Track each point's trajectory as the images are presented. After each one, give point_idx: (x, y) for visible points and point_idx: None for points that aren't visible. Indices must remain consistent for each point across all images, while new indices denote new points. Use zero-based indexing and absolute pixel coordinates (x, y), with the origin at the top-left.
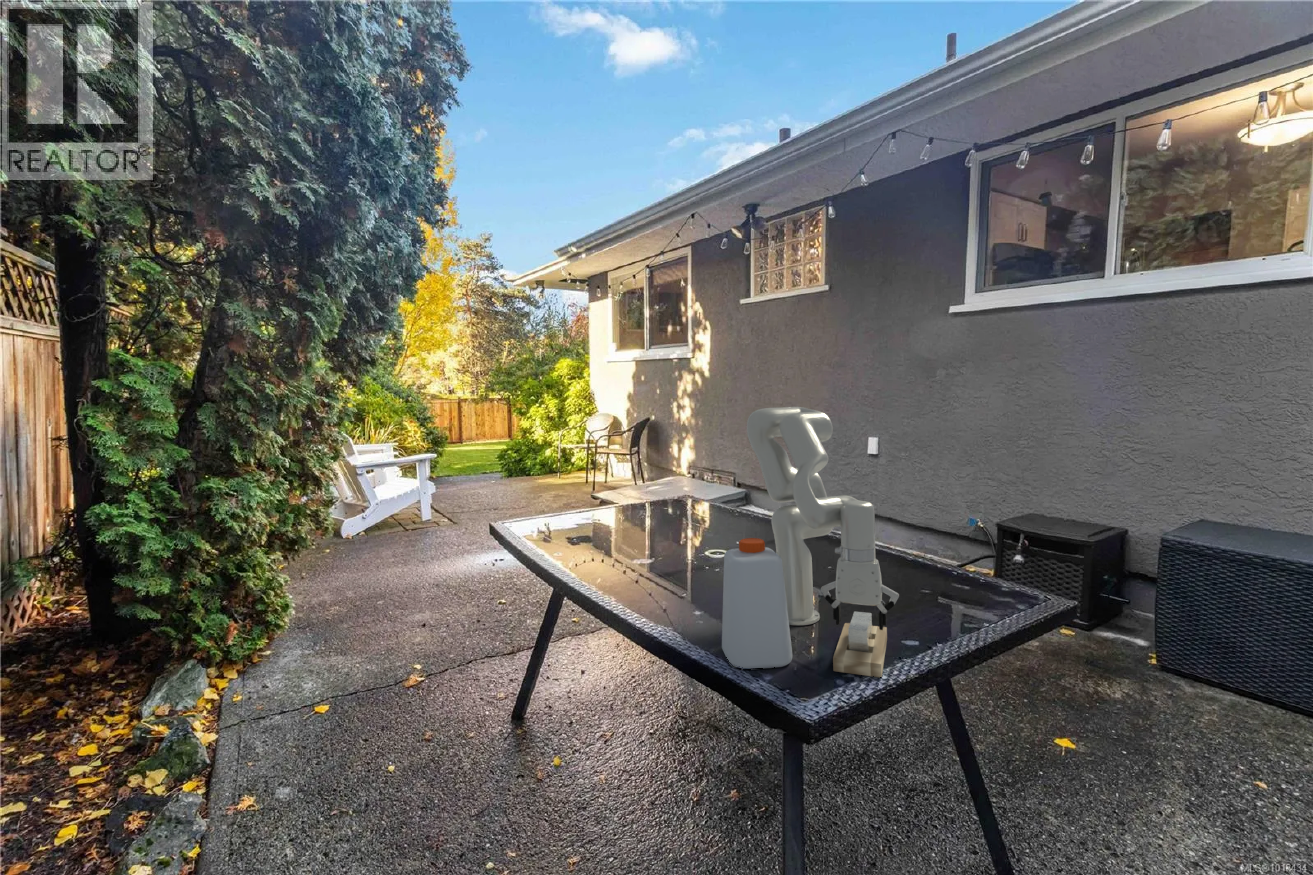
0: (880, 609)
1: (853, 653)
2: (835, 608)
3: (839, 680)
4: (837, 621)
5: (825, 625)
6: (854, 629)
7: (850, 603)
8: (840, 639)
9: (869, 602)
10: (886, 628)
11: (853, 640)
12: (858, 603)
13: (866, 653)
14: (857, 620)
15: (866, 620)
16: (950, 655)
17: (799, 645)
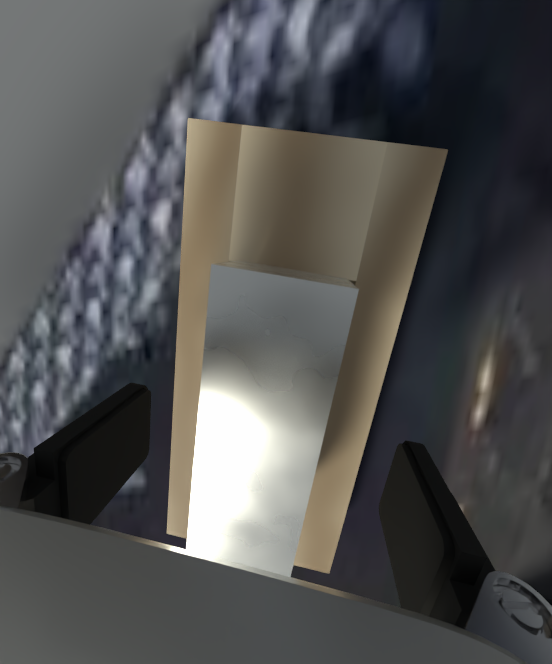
0: (12, 487)
1: (321, 238)
2: (476, 575)
3: (404, 63)
4: (420, 454)
5: (392, 594)
6: (307, 286)
7: (330, 589)
8: (370, 405)
9: (7, 551)
10: (167, 523)
11: (317, 274)
12: (204, 562)
13: (256, 250)
14: (272, 465)
15: (212, 467)
16: (2, 388)
17: (536, 425)
